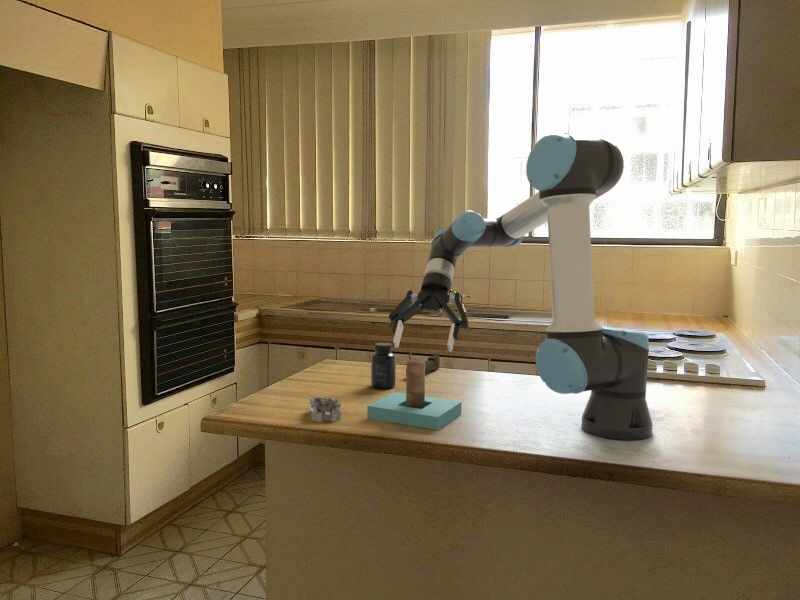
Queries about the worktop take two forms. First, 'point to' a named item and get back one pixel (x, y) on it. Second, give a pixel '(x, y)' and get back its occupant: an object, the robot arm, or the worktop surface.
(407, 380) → the walnut pin
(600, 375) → the robot arm
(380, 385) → the supplement bottle
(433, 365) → the dark brown wooden rod
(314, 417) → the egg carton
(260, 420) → the worktop surface
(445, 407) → the teal square-hole block
